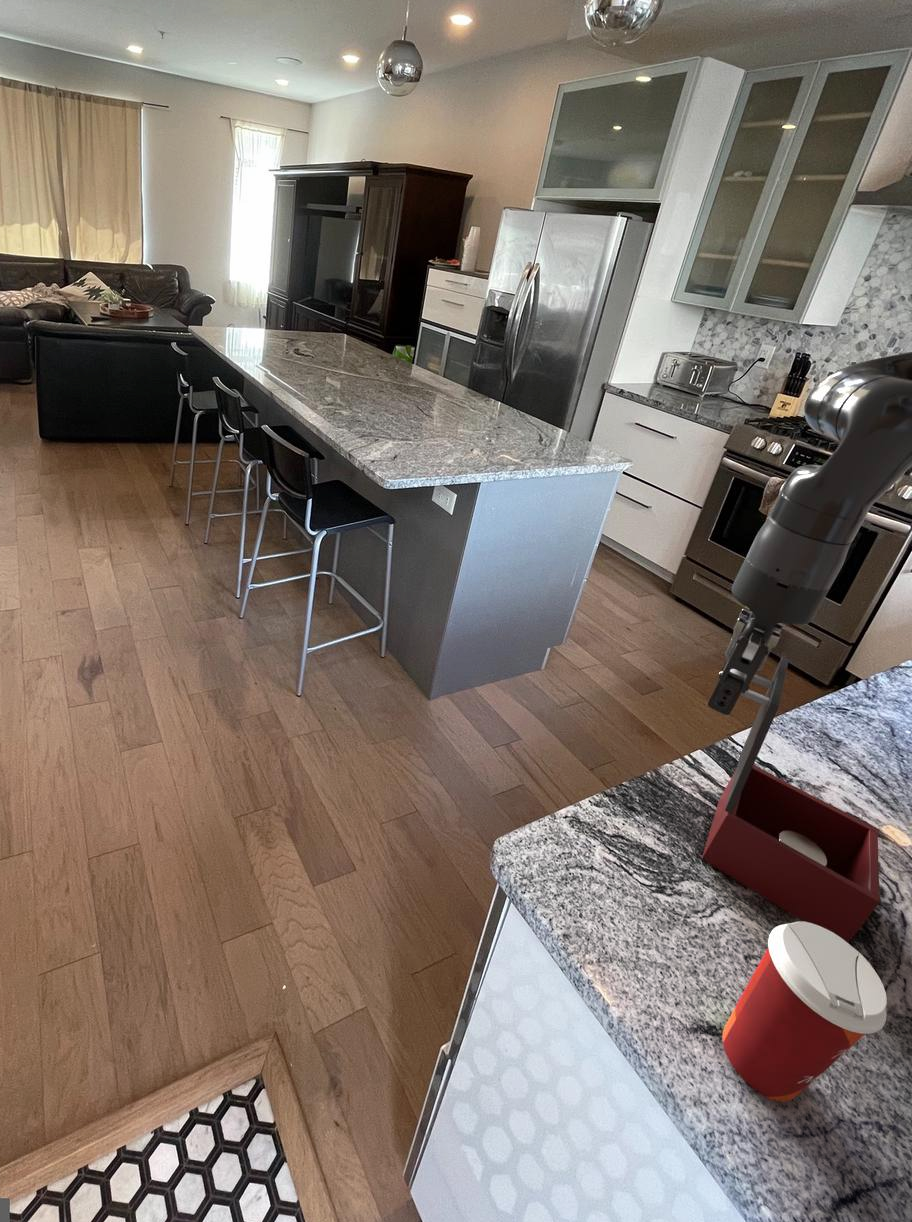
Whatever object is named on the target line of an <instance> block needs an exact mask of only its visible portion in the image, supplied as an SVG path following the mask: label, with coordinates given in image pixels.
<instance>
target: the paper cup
mask: <svg viewBox="0 0 912 1222" xmlns="http://www.w3.org/2000/svg"><path fill="white" fill-rule="evenodd" d="M749 979H750V980H749V981H748V983H747V985H746V986H745V989H744V990H743V992H742V994H741V996H740V998H739V999H738V1001H737V1003H736V1004H735V1007H734V1008H733V1011H732V1012H731V1014H730V1016H729V1018H728V1020H727V1022H726V1024H725V1025H724V1028H723V1030H722V1035H721V1036H722V1037H721V1038H722V1046H723V1048H724V1052H725V1054H726V1056H727V1059H728V1061H729V1062H730V1064H731V1066H732V1067H733V1069H734V1070H735V1071H736V1073H737V1074H738V1075H739V1076H740V1077H741V1079H742V1080H743V1081H744V1082H745V1083H746V1084H747V1085H748V1086H750V1087H751V1088H752V1089H753V1090H754V1091H755V1092H757V1093H758V1094H760V1095H762V1096H763V1097H765V1098H767V1099H769V1100H772V1101H775V1102H780V1103H781V1102H782V1103H785V1102H790V1101H791V1100H793V1099H794V1098H796V1097H797V1096H798V1095H799V1094H801V1092H803V1091H804V1090H805V1089H807V1088H808V1087H809V1086H810V1085H811V1084H812V1083H813V1082H814V1081H815V1080H816V1079H818V1078H819V1077H820V1076H821V1075H822V1074H823V1073H824V1072H826V1070H828V1069H829V1068H830V1067H831V1066H832V1065H834V1063H836V1061H838V1060H839V1059H840V1058H841V1057H842V1056H843V1055H844V1054H846V1052H848V1050H850V1049H851V1048H852V1047H853V1046H854V1045H855V1044H856V1043H858V1042H859V1041H860V1040H861V1039H862V1038H863V1037H864V1036H865V1035H869V1034H874V1033H877V1032H879V1031H881V1029H882V1028H883V1027H884V1026H885V1024H886V1021H887V1003H888V999H887V998H888V997H887V993H886V990H885V986H884V984H883V982H882V980H881V978H880V976H879V975H878V973H877V972H876V970H875V969H874V967H873V966H872V965H871V963H870V962H869V961H868V960H867V959H866V958H865V956H863V954H861V953H860V951H858V950H857V949H856V948H855V947H853V946H852V945H851V944H849V943H847V942H846V941H844V940H843V939H842V938H840V937H839V936H837V935H836V934H834V933H833V932H831V931H829V930H827V929H825V928H823V927H820V926H818V925H815V924H812V923H808V922H804V921H795V922H794V921H793V922H791V923H784V924H780V925H777V926H775V927H774V928H773V929H771V931H770V934H769V936H768V939H767V948H766V950H765V952H764V954H763V956H762V958H761V960H760V962H759V963H758V965H757V967H756V968H755V970H754V972H753V974H752V976H751V977H750V978H749Z"/></svg>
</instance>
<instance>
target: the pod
mask: <svg viewBox="0 0 912 1222" xmlns="http://www.w3.org/2000/svg"><path fill="white" fill-rule="evenodd" d="M778 840H779V841H781V842H783V843H785V844H786V845H788V846H790V847H792V848H794V849H795V850H797V851H799V852H801V853H802V854H804V855H806V856H808V857H809V858H811V859H813V860H815V861H817V862H818V863H820V864H822V865H824V866H825V867H826V865H827V858H826V856H825V854H824V853H823V851H822V850H821V849H820V848H819V847H818V846H817V845H816V844H815V843H814V842H813V841H811V840H810V839H808V838H807V837H805V836H803V835H801V834H799V833H797V832H793V831H782V832H781V833H780V834H779V836H778Z"/></svg>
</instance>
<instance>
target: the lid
mask: <svg viewBox="0 0 912 1222" xmlns="http://www.w3.org/2000/svg"><path fill="white" fill-rule="evenodd" d="M789 661H790V659H789V658H787V657H785V656H781V657H780V661H779V662H778V665H777V667H776V669H775V672H774V673H773V676H772V679H768V678H766V677H763V676H760V675H758V674H756V673H755V675H754V677H753V679H752V681H751V682H752V683H755V684H757V685H759V686H762V687H764V688H767V690H766V693H765V695H763V694H761V693H758V692H756V691H754V690H751V689H750V688H749V689H748V691H746V692H745V693H741V694H740V696H741V697H744V698H746V699H748V700H751V701H753V702H756V703H759V704H760V707H759V710H758V712H757V714H756V717H755V719H754V722H753V724H752V726H751V728H750V731H749V733H748V735H747V737H746V740H745V742H744V745H743V747H742V750H741V752H740V753H739V757H738V761H737V764H736V768H735V771H736V772H735V771H734V772H735V775H734V779H733V782H732V786H731V790H730V793H729V797H728V800H727V804H726V808H725V811H726V812H728V813H730V814H732V813H733V810H734V808H735V806H736V804H737V801H738V799H739V797H740V794H741V792H742V790H743V788H744V785H745V783H746V781H747V778H748V776H749V774H750V772H751V769H752V767H753V765H754V766H755V762H756V760H757V758H758V755H759V753H760V752H761V749H762V746H763V744H764V742H765V739H766V737H767V735H768V733H769V731H770V729H771V726H772V724H773V722H774V719H775V717H776V714H777V712H778V710H779V708H780V703H781V700H782V695H783V690H784V685H785V681H786V675H787V670H788V667H789ZM730 672H732V673H734V674H736V675H739V676H741V677H743V678H744V677H745V674H744V673H742V672H740V671H738V670H735V669H731V670H730Z"/></svg>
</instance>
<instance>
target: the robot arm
mask: <svg viewBox="0 0 912 1222" xmlns="http://www.w3.org/2000/svg"><path fill="white" fill-rule="evenodd" d="M803 412H804V413H803V414H804V419H805V421H806V423H807V424H808V426H809V427H810V428H811V429H812V430H813V431H814V432H815V433H816V434H818V435H820V436H821V437H823V438H825V439H827V440H830V441H831V442H834V443H836V444H838V445H837V447H836V449H835V450H834V451H833V452H832V454H831V455H830V456H829V457H828V458H827V460H826V461H824V462H823V464H822V465H819V464H805V465H800V466H798V467H797V468H795V469H793V470H792V472H791V473H790V474H789V475H788V477H787V479H786V481H785V482H784V484H783V486H782V488H781V491H779V494H778V496H777V498H776V501H775V503H774V505H773V507H772V509H771V511H770V514H769V515H768V517H767V518H766V520H765V522H764V523H763V525H762V526H761V528H760V529H759V530H758V532H757V534H756V536H755V537H754V539H753V542H752V544H751V545H750V548H749V550H748V552H747V553H746V556H745V558H744V561H743V563H742V565H741V567H740V569H739V571H738V573H737V575H736V577H735V580H734V581H733V583H732V586H731V593H732V596H733V598H734V599H735V600H736V601H737V602H738V603H739V604H741V606H743V607H745V608H747V609H744V608H742V609H741V611H740V613H739V615H738V618H737V620H736V623H735V625H734V627H733V628H732V629H733V630H732V631H733V633H732V635H731V639H730V642H729V643H728V645H727V648H726V650H725V652H724V657H725V658H726V660H725V662H724V664H723V666H722V668H721V669H720V672H719V674H718V678H717V679H718V682H717V684H716V685H715V687H714V690H713V692H711V693H712V694H711V695H710V697H709V699H708V701H707V705H708V707H709V708H710V709H711V710H714V711H716V712H718V713H720V714H722V715H724V716H729V715H731V713H732V711H733V709H734V707H735V706H736V703H737V702H738V700H739V698H740V696H741V695H740V694H741V693H745V692H746V691H748V689H749V690H750V684H751V682H752V679H753V677H754V675H755V674H756V673H757V672H759V671H761V670H762V669H763V667H764V665H765V663H766V661H767V659H768V656H769V654H770V653H771V650H772V649H774V648H775V647H777V645H778V642H779V640H780V639H781V636H782V634H781V632H782V630H783V628H784V624H788V625H790V626H791V625H792V626H803V625H807V624H809V623H811V622H812V621H813V620H814V618H815V616H816V614H817V613H818V611H819V609H820V607H821V605H822V604H823V603H824V600H825V599H826V597H827V595H828V593H829V591H830V590H831V587H832V586H833V584H834V582H835V580H836V578H837V577H838V575H839V573H840V571H841V569H842V567H843V565H844V564H845V561H846V558H847V555H848V552H849V549H850V547H851V545H852V542H853V541H854V540H855V538H856V536H857V534H858V532H859V531H860V528H861V526H862V525H863V523H864V521H865V519H866V518H867V515H868V513H869V511H870V509H871V507H872V506H873V505H874V504H875V503H876V502H877V501H878V500H879V499H880V498H881V497H882V496H883V495H884V494H885V493H886V492H888V490H890V489H891V488H892V487H893V486H894V485H895V484H896V483H897V482H898V481H899V479H900V478H901V477H902V476H903V475H904V474H905V473H906V472H907V471H908V470H909V469H910V468H912V351H908V352H903V353H898V354H893V355H888V356H882V357H878V358H873V359H869V360H865V361H861V362H858V363H854V364H850V365H848V366H845V367H843V368H840V369H838V370H836V371H833V372H832V373H831V374H829V375H827V376H826V377H824V378H823V379H822V380H820V381H819V382H818V383H817V384H816V385H815V386H814V387H813V388H812V389H811V390H810V392H809V393H808V396H807V397H806V399H805V402H804V406H803ZM731 669H735V670H738V671H740V672H742V673H744V674H745V677H744V678H743V677H741V676H739V675H736V674H734V673H732V672H730V670H731Z"/></svg>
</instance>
